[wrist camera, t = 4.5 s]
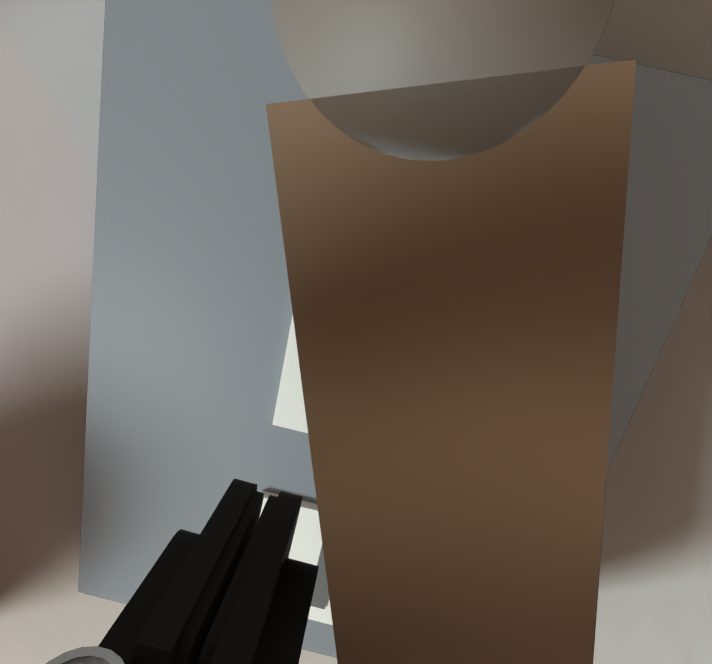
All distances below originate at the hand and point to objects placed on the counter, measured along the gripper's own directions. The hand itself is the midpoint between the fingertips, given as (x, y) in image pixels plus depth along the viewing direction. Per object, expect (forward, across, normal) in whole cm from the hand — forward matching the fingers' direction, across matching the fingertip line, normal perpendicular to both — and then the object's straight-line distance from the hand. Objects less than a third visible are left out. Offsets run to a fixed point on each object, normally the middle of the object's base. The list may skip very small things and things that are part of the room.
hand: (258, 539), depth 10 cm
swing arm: (+1, -4, -3) cm, 5 cm away
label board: (+6, -1, -2) cm, 6 cm away
